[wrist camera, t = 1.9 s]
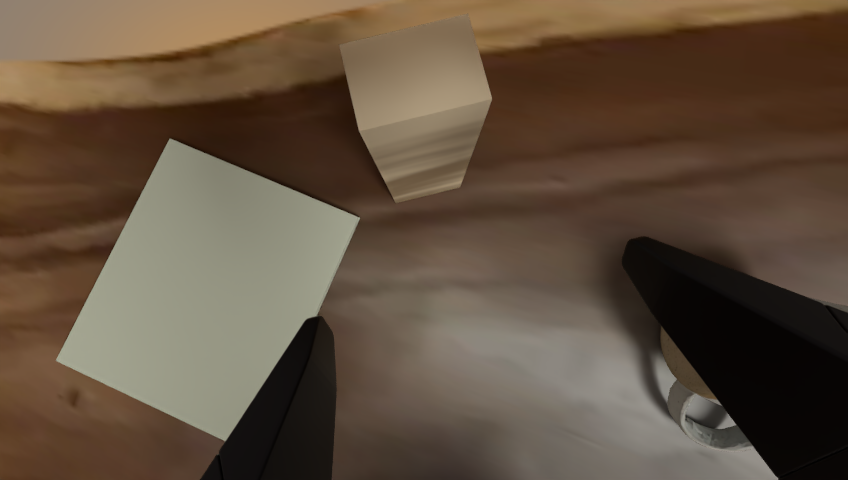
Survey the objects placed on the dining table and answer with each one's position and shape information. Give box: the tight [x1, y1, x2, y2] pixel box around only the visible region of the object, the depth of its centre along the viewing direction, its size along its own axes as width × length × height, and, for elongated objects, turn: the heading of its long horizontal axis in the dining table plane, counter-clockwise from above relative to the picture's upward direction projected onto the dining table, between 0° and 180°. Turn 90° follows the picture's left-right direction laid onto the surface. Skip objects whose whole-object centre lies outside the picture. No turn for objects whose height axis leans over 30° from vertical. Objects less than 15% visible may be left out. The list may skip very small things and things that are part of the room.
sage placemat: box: [56, 139, 360, 441], centre depth 22 cm, size 18×16×1 cm
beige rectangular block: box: [339, 14, 492, 203], centre depth 17 cm, size 4×5×12 cm
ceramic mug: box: [660, 298, 848, 452], centre depth 18 cm, size 11×8×8 cm
